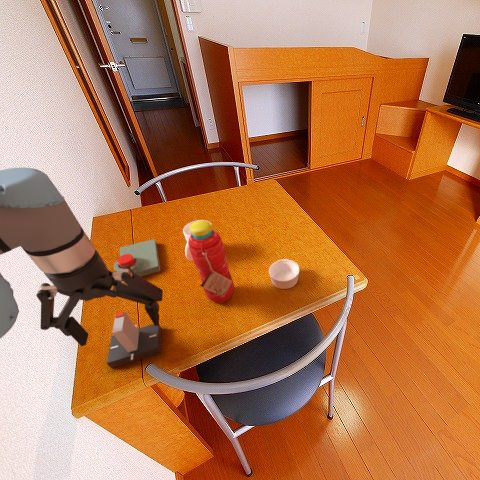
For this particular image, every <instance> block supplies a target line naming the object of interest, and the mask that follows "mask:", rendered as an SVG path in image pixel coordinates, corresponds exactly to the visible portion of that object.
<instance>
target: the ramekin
mask: <svg viewBox="0 0 480 480" xmlns="http://www.w3.org/2000/svg"><path fill="white" fill-rule="evenodd" d="M268 273H269V276H270V280H271V283H272V284H273V286H274V287H276V288H277V289H280V290H286V289H287V290H288V289H291V288H293V287H294V286H296V284H297V283H298V282H299V276H300V275H299V274H300V266H299V264H298V263H297V262H296V261H294V260H292V259H287V258H282V259H279V260H276V261H274V262H273V263H271V265H270V266H269V268H268Z"/></svg>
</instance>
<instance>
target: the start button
mask: <svg viewBox="0 0 480 480" xmlns="http://www.w3.org/2000/svg"><path fill="white" fill-rule="evenodd" d="M116 261H117V263H118V264H119V266H120V267H121V268H123V267H124V266H129V267H131V266H133V265H134V264H135V259H134V257H133V256H132V255H131V254H125V255H122V256H120V255H119V257H117V259H116Z"/></svg>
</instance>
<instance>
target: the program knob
mask: <svg viewBox="0 0 480 480" xmlns="http://www.w3.org/2000/svg"><path fill="white" fill-rule="evenodd" d="M135 325H136V324H135V323H134V322H133V320H132V319H131V317H130V316H129V315H128V313H127V311H121V312H118V313H115V315H114V321H113V327H112V332H111V333H112V336H113V335H114V336H115V337H116V338H117V340H118V341H119V342H120V343H121V344H122V345H123V347H124V348H125V349H126V350H127V351H128V352H132V351H135V350H137V348H138V338H139V330H138V327H136V326H135Z"/></svg>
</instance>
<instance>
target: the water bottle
mask: <svg viewBox="0 0 480 480" xmlns="http://www.w3.org/2000/svg"><path fill="white" fill-rule="evenodd" d="M196 221H197V220H196ZM209 222H210V221H209V220H206V221H197V222H195V223H193V224H192V225H191V227H190V230H191V235H190V238H189V241H188V244H189V250H190V254H191V257H192V258H193V260H194V261H193V264H194V265H195V267H196V269H197V271H198V273H199V276H200V281H201V284H200V285H199V286H200V287H202V289H203V291H204V293H205V295H206V299H208V300H210V301H211V302H213V303H214V304H222V303H225V302H228V301H229V300H230V299H231V297H232V296H233V293H234V290H235V283H234V279H233V277H232V275H231V272H230V269H229V264H228V261H227V251H226V248H225V245H224V242H223V239H222V237H221V235H220V234H219V232H218V231H217V230H215V229H214V227H213V225H210V223H211V222H210V223H209Z"/></svg>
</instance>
